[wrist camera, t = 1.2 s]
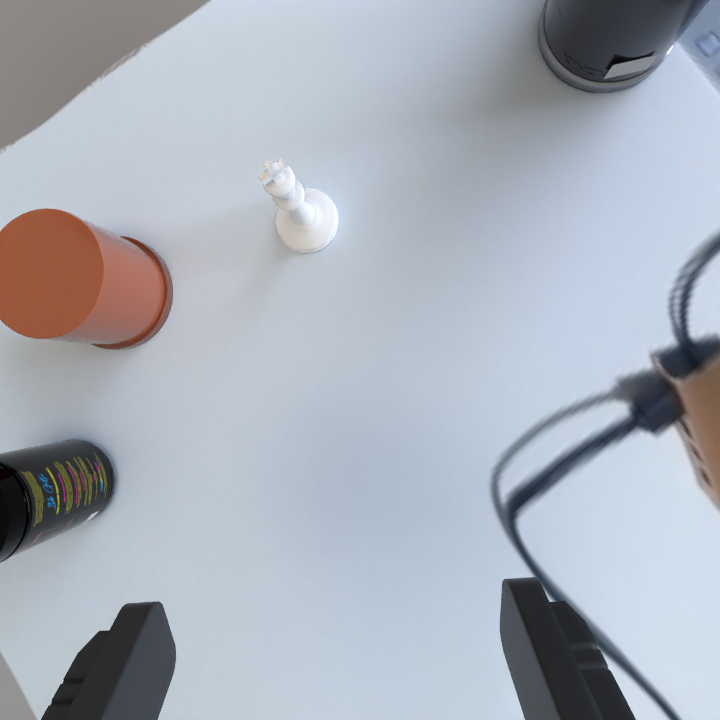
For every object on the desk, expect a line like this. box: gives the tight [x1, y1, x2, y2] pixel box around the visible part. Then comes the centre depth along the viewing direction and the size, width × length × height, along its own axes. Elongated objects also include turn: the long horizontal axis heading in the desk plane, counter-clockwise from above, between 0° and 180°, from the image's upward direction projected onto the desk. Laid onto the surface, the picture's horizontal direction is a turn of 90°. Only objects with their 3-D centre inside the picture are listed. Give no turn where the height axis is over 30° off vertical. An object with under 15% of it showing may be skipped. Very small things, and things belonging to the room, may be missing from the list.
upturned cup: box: [0, 209, 173, 350], centre depth 34 cm, size 9×9×8 cm
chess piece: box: [258, 159, 339, 253], centre depth 32 cm, size 5×5×10 cm
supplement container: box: [0, 440, 114, 563], centre depth 33 cm, size 7×7×10 cm
